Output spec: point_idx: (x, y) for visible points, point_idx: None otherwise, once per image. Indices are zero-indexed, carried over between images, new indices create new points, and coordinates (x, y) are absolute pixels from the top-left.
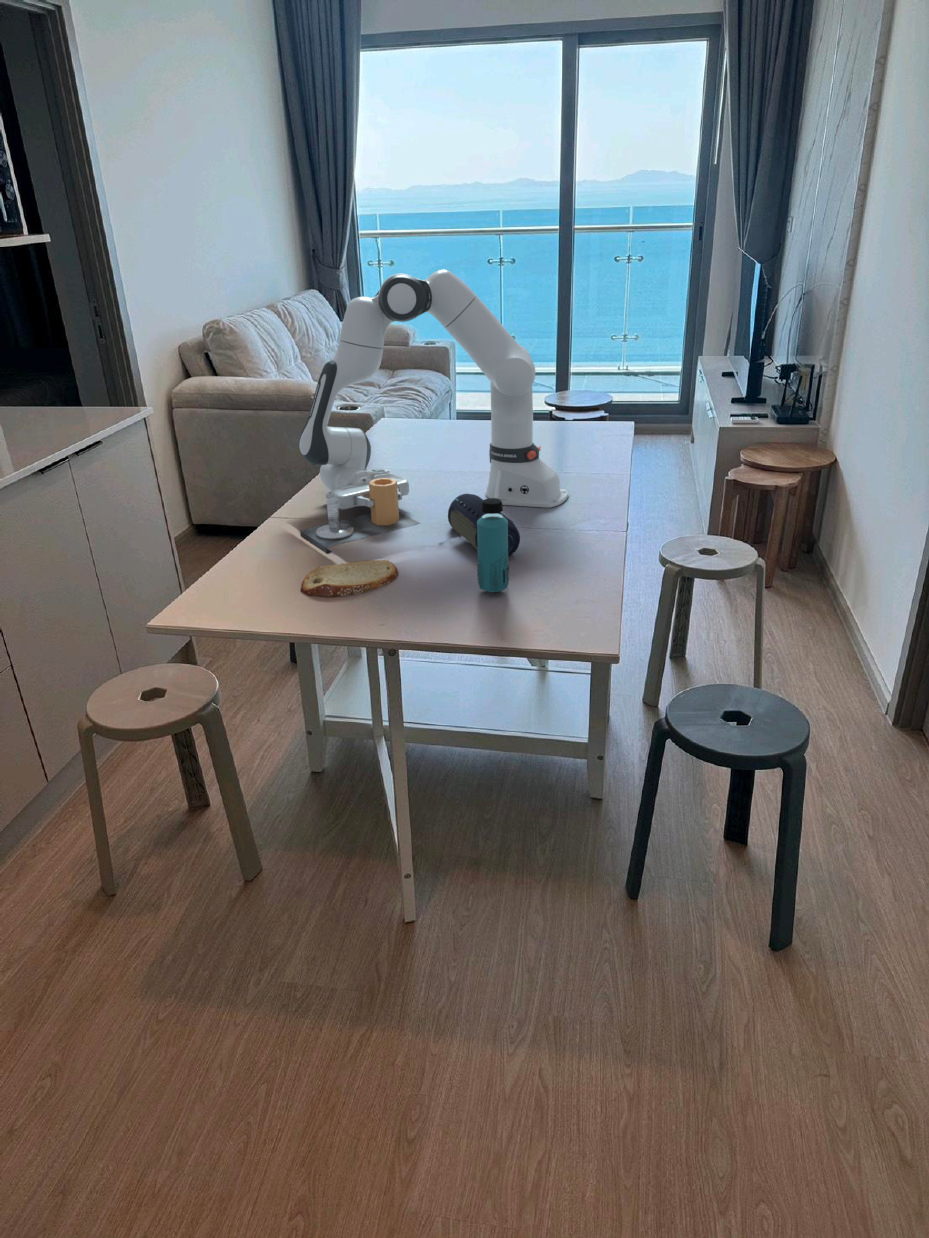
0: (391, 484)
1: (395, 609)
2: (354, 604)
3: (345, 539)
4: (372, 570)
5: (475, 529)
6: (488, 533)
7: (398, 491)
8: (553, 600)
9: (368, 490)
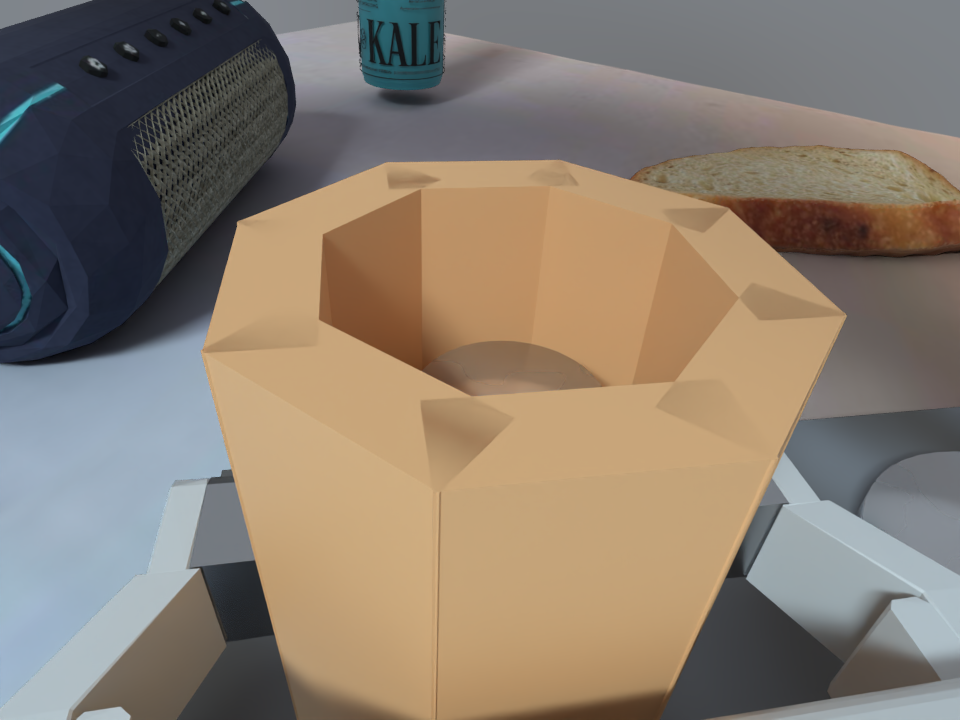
0: (433, 167)
1: (671, 121)
2: None
3: (906, 452)
4: (724, 190)
5: (269, 54)
6: None
7: (134, 578)
8: (312, 65)
9: (793, 716)
